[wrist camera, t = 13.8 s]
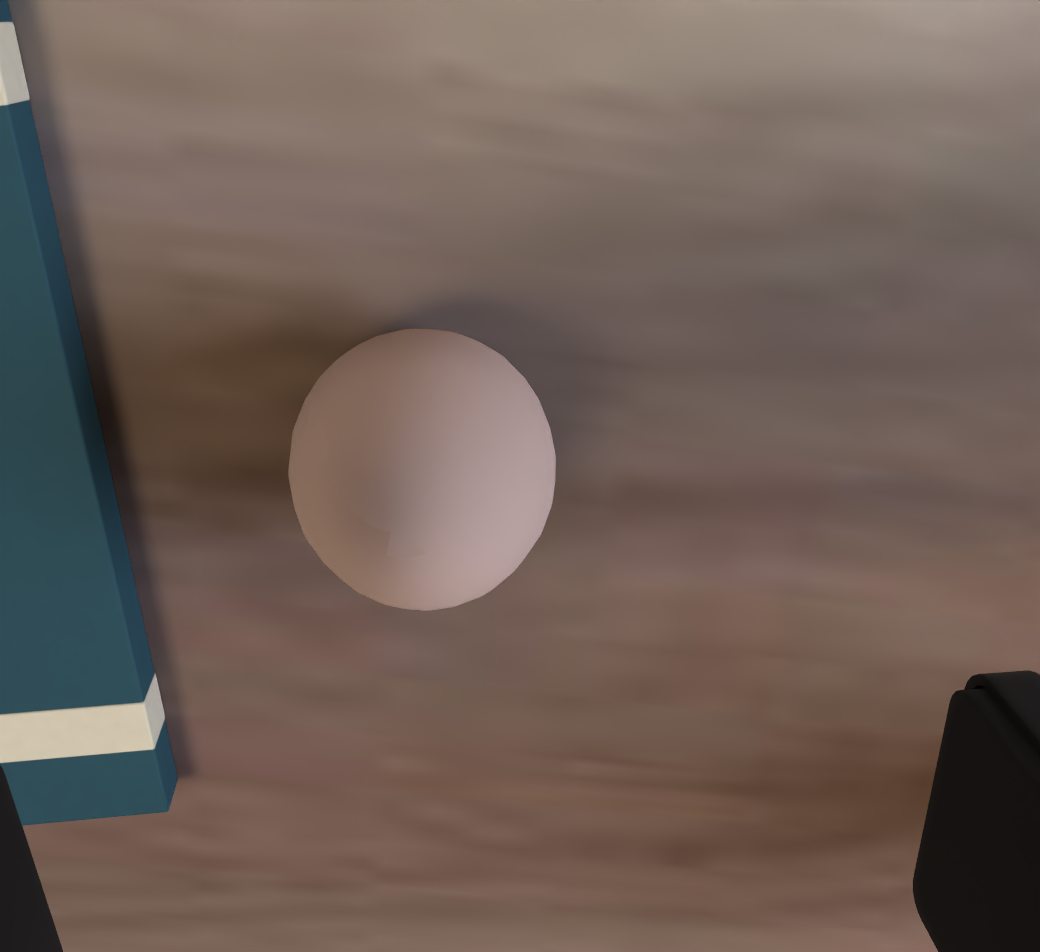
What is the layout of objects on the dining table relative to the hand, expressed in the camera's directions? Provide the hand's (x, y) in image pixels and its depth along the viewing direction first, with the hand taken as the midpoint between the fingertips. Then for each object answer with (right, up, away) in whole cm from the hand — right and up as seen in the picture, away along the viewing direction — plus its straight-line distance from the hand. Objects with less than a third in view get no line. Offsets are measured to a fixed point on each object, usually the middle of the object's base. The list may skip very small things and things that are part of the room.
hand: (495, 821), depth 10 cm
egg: (-2, +5, +13) cm, 14 cm away
